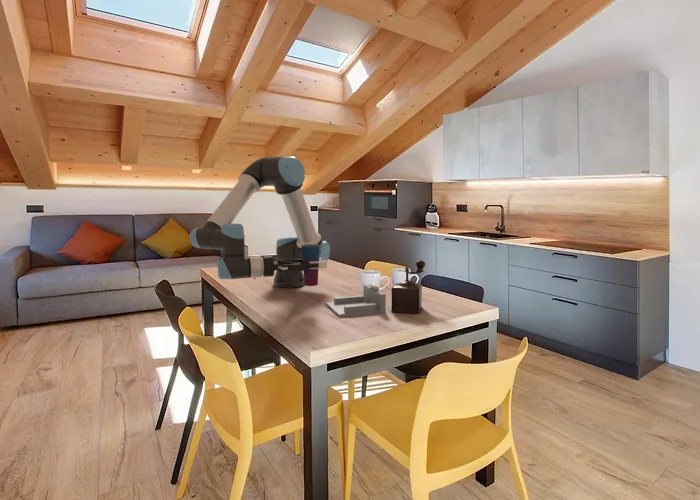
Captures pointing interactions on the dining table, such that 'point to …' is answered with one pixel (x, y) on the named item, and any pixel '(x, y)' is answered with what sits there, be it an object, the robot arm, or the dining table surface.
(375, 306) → the dock
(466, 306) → the dining table surface
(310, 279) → the cup
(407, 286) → the manual coffee grinder
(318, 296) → the dining table surface
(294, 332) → the dining table surface
